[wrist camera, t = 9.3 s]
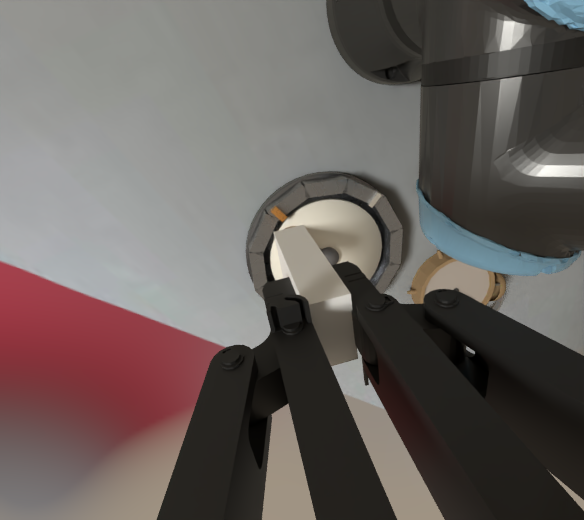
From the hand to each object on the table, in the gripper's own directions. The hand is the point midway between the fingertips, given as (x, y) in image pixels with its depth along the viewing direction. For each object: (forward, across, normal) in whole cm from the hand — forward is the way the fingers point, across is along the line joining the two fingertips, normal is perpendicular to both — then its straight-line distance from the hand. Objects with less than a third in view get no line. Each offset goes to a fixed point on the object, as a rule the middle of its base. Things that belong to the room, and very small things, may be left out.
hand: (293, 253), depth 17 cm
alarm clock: (+25, +26, -24) cm, 43 cm away
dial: (+23, +7, -12) cm, 27 cm away
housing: (+24, +7, -12) cm, 28 cm away
